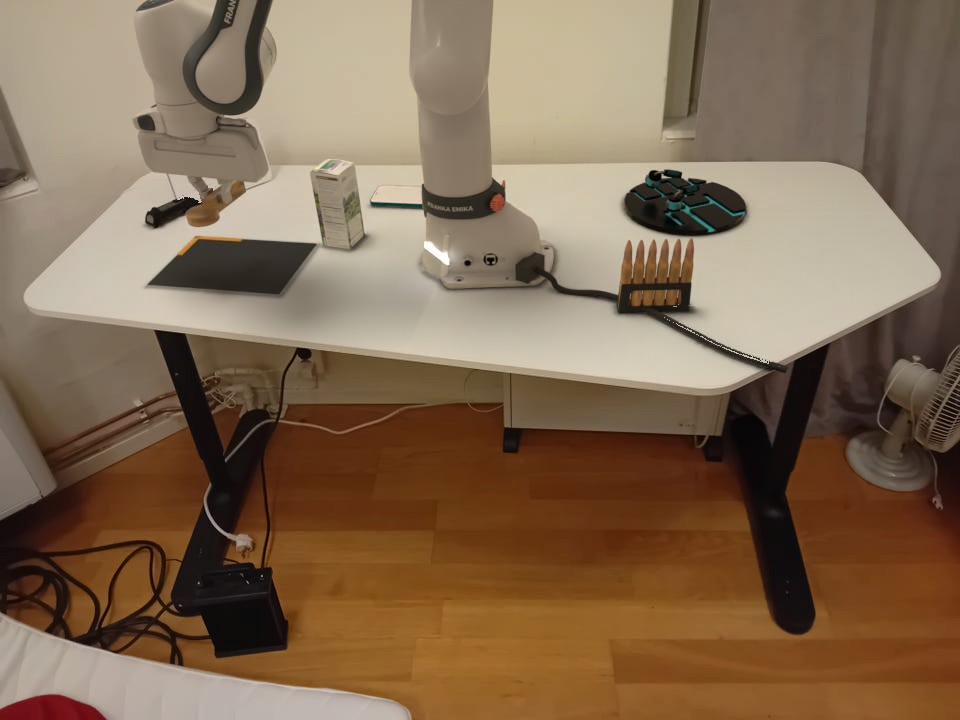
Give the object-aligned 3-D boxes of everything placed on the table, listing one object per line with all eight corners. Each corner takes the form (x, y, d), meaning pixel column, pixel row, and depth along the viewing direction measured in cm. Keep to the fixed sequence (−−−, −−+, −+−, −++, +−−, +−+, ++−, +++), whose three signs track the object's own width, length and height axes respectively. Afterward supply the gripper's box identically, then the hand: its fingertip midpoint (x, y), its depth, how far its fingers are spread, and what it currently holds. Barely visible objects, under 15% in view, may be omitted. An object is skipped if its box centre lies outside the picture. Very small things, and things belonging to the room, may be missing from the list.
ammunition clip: (617, 313, 113) (623, 243, 106) (616, 306, 115) (621, 237, 107) (689, 311, 113) (699, 241, 105) (686, 304, 114) (697, 234, 107)
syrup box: (338, 232, 138) (324, 157, 130) (366, 236, 137) (354, 160, 128) (322, 246, 134) (307, 170, 125) (351, 251, 133) (338, 174, 124)
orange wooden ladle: (229, 189, 125) (225, 175, 123) (254, 192, 124) (250, 177, 122) (181, 225, 115) (177, 210, 114) (208, 228, 114) (203, 213, 112)
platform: (700, 174, 151) (704, 143, 147) (770, 219, 134) (777, 186, 130) (603, 195, 145) (604, 164, 141) (664, 245, 129) (668, 211, 125)
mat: (317, 245, 135) (317, 243, 135) (279, 296, 122) (278, 293, 121) (196, 238, 139) (196, 235, 139) (147, 286, 126) (146, 284, 126)
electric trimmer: (222, 199, 153) (218, 185, 151) (155, 229, 143) (150, 213, 141) (211, 195, 154) (207, 181, 153) (144, 224, 145) (139, 209, 143)
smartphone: (456, 191, 150) (379, 188, 152) (456, 187, 149) (379, 184, 151) (449, 210, 144) (369, 206, 146) (449, 205, 143) (368, 202, 145)
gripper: (264, 112, 110) (284, 198, 118) (149, 103, 115) (175, 187, 124) (241, 127, 105) (263, 216, 113) (122, 118, 110) (151, 203, 119)
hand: (216, 201), depth 119 cm, fingers closed on orange wooden ladle, 2 cm apart
